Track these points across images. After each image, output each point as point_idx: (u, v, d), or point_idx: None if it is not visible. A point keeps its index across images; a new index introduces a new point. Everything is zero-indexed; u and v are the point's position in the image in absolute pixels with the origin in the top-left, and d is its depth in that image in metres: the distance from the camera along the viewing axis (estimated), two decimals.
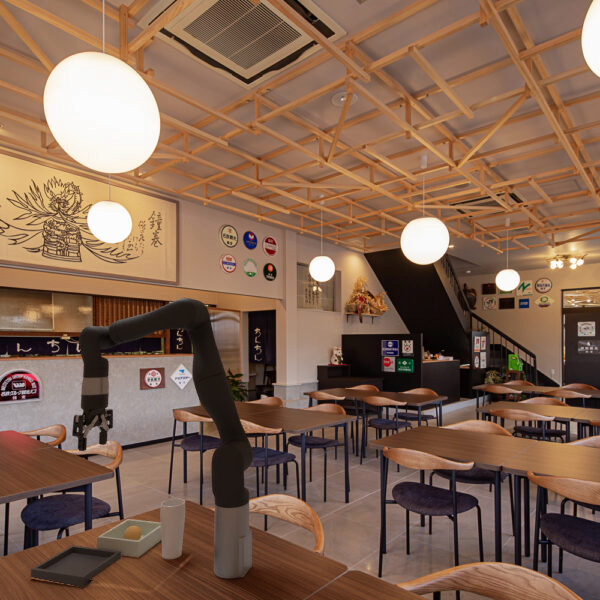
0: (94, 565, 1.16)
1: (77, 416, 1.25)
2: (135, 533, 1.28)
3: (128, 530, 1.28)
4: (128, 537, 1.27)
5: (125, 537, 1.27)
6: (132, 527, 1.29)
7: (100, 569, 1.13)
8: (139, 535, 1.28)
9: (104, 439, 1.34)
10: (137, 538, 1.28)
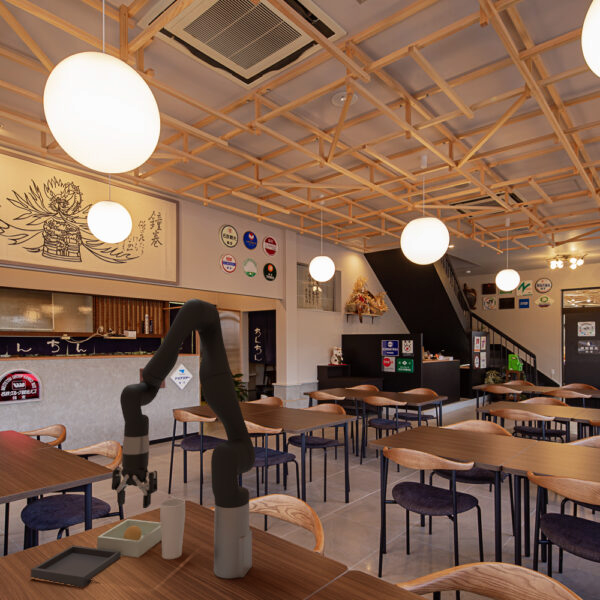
0: (94, 565, 1.16)
1: (154, 473, 1.30)
2: (135, 533, 1.28)
3: (128, 530, 1.28)
4: (128, 537, 1.27)
5: (125, 537, 1.27)
6: (132, 527, 1.29)
7: (100, 569, 1.13)
8: (139, 535, 1.28)
9: (124, 498, 1.32)
10: (137, 538, 1.28)
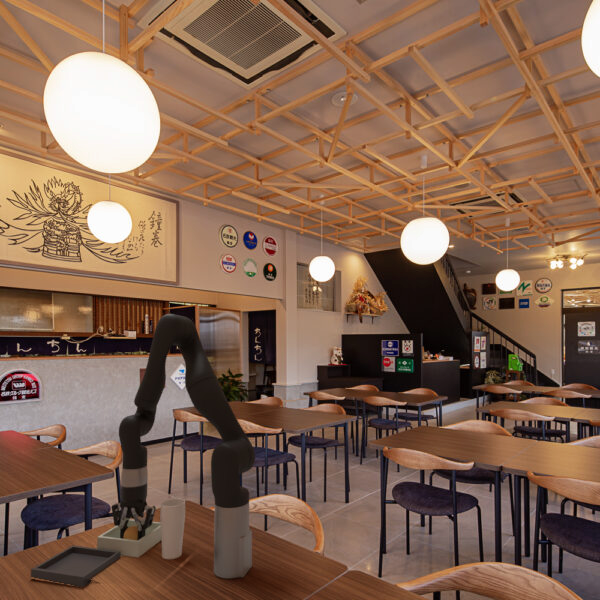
0: (94, 565, 1.16)
1: (153, 509, 1.28)
2: (135, 533, 1.28)
3: (128, 530, 1.28)
4: (128, 537, 1.27)
5: (125, 537, 1.27)
6: (132, 527, 1.29)
7: (100, 569, 1.13)
8: None
9: None
10: None
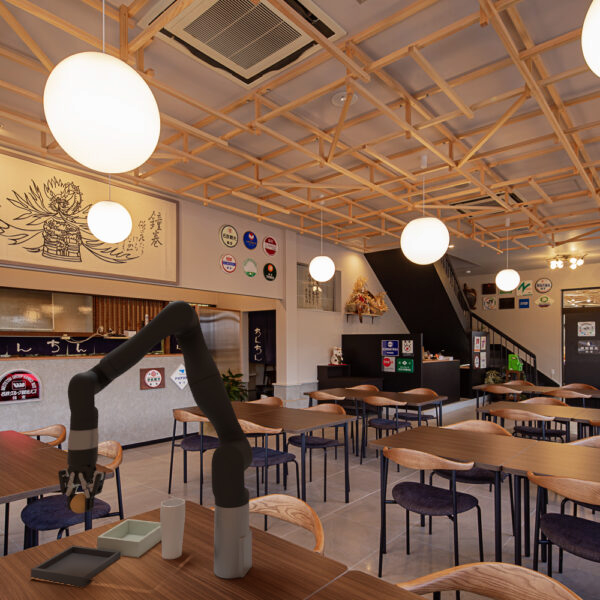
0: (94, 565, 1.16)
1: (102, 474, 1.17)
2: (83, 501, 1.17)
3: (75, 497, 1.17)
4: (75, 505, 1.16)
5: (71, 505, 1.16)
6: (80, 494, 1.18)
7: (100, 569, 1.13)
8: None
9: None
10: None
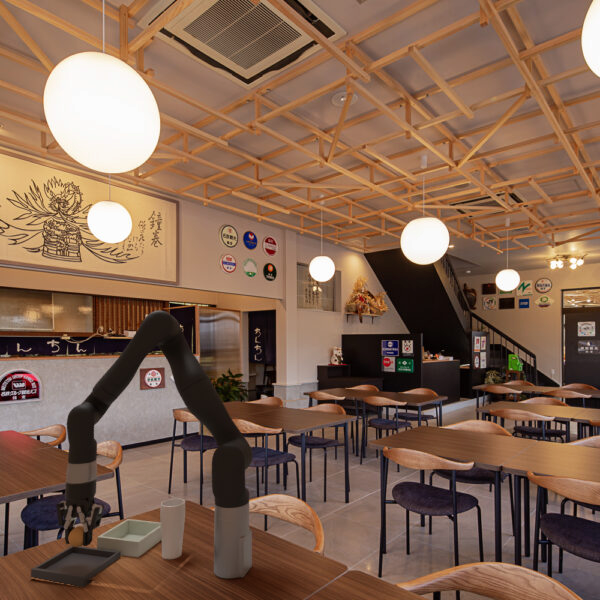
0: (94, 565, 1.16)
1: (100, 508, 1.16)
2: (81, 534, 1.16)
3: (73, 531, 1.16)
4: (73, 539, 1.15)
5: (69, 539, 1.15)
6: (78, 528, 1.17)
7: (100, 569, 1.13)
8: None
9: None
10: None
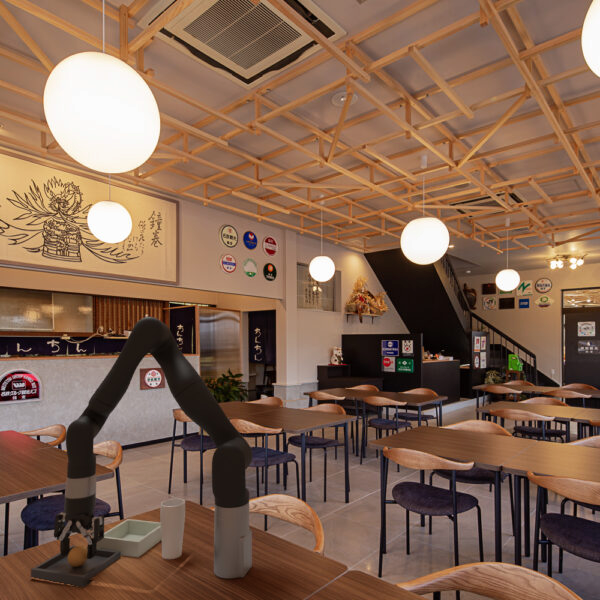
0: (94, 565, 1.16)
1: (100, 518, 1.16)
2: (80, 554, 1.15)
3: (72, 551, 1.15)
4: (72, 559, 1.14)
5: (69, 559, 1.14)
6: (77, 547, 1.16)
7: (100, 569, 1.13)
8: (85, 556, 1.16)
9: (68, 546, 1.18)
10: (82, 560, 1.15)
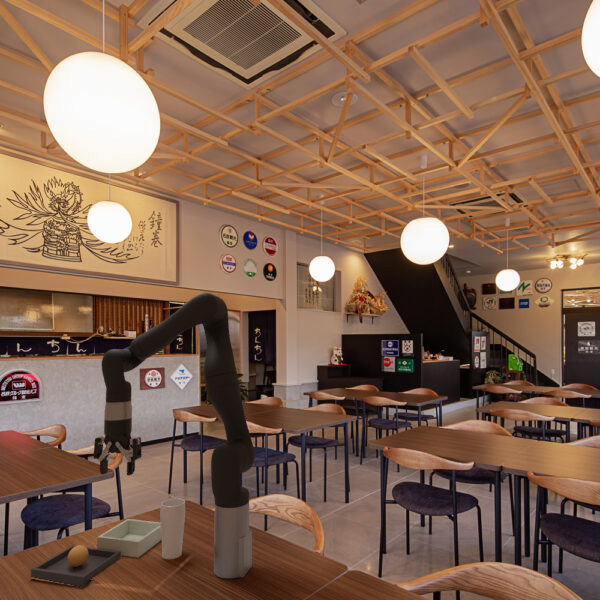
0: (94, 565, 1.16)
1: (138, 439, 1.26)
2: (80, 554, 1.15)
3: (72, 551, 1.15)
4: (72, 559, 1.14)
5: (69, 559, 1.14)
6: (77, 547, 1.16)
7: (100, 569, 1.13)
8: (85, 556, 1.16)
9: (107, 467, 1.28)
10: (82, 560, 1.15)
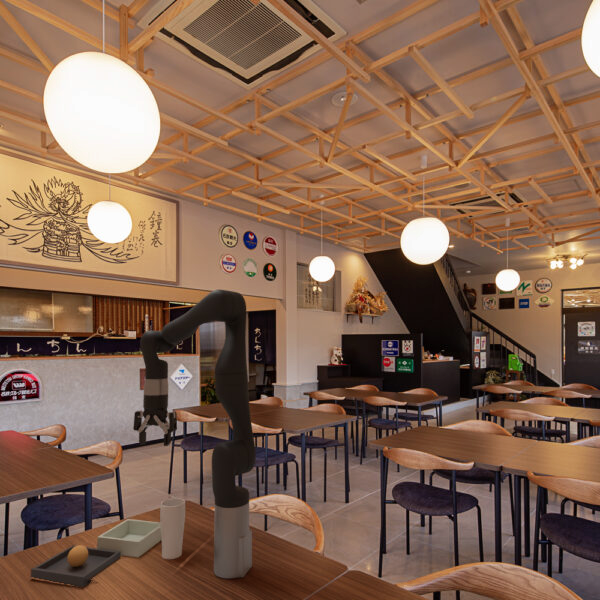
0: (94, 565, 1.16)
1: (174, 413, 1.37)
2: (80, 554, 1.15)
3: (72, 551, 1.15)
4: (72, 559, 1.14)
5: (69, 559, 1.14)
6: (77, 547, 1.16)
7: (100, 569, 1.13)
8: (85, 556, 1.16)
9: (145, 438, 1.40)
10: (82, 559, 1.15)
